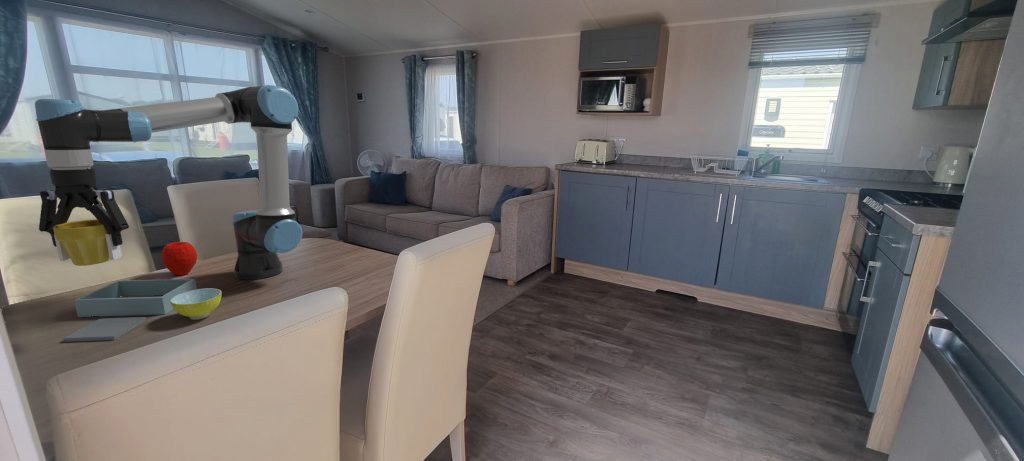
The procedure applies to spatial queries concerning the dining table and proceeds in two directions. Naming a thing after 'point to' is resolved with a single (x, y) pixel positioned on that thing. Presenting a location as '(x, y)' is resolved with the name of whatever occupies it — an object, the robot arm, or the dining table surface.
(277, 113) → the robot arm
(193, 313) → the bowl
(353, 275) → the dining table surface
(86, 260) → the plant pot
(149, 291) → the crate
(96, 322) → the plate
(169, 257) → the apple
